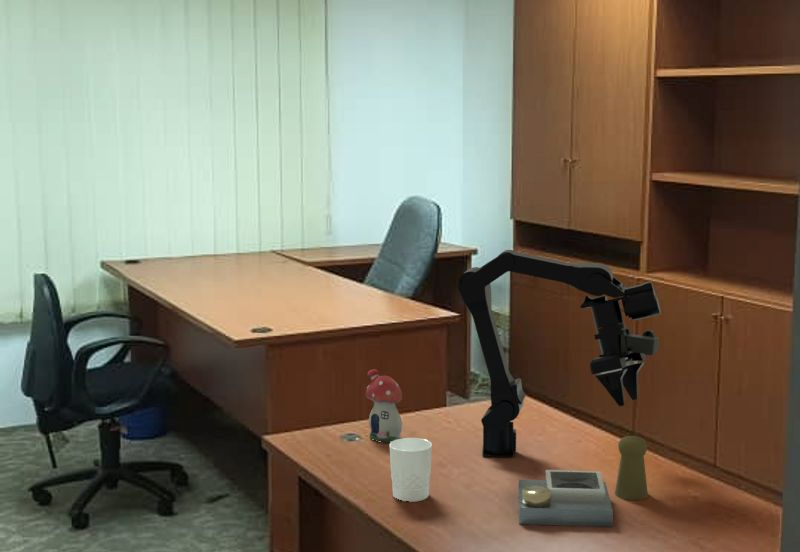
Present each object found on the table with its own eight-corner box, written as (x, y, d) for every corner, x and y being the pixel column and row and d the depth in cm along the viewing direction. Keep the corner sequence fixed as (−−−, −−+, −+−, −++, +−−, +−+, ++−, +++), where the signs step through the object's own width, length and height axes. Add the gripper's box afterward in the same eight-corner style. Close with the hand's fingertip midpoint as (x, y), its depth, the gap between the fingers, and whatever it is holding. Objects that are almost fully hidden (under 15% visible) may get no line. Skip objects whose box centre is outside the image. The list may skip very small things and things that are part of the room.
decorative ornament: (361, 434, 235) (360, 369, 232) (386, 429, 238) (385, 364, 236) (382, 446, 227) (382, 378, 224) (408, 440, 230) (408, 373, 228)
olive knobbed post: (610, 489, 200) (612, 433, 199) (642, 487, 201) (643, 432, 199) (620, 500, 195) (621, 443, 193) (652, 499, 195) (654, 442, 193)
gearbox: (519, 524, 184) (519, 496, 183) (518, 494, 198) (518, 469, 197) (612, 527, 183) (613, 499, 182) (605, 497, 196) (605, 471, 196)
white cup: (437, 490, 200) (437, 440, 199) (424, 505, 193) (424, 453, 191) (398, 486, 203) (397, 436, 201) (384, 500, 196) (383, 448, 194)
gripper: (635, 320, 199) (655, 401, 198) (660, 314, 216) (679, 389, 214) (580, 332, 204) (599, 412, 203) (609, 325, 221) (627, 399, 220)
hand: (628, 402), depth 210 cm, fingers open, 9 cm apart
